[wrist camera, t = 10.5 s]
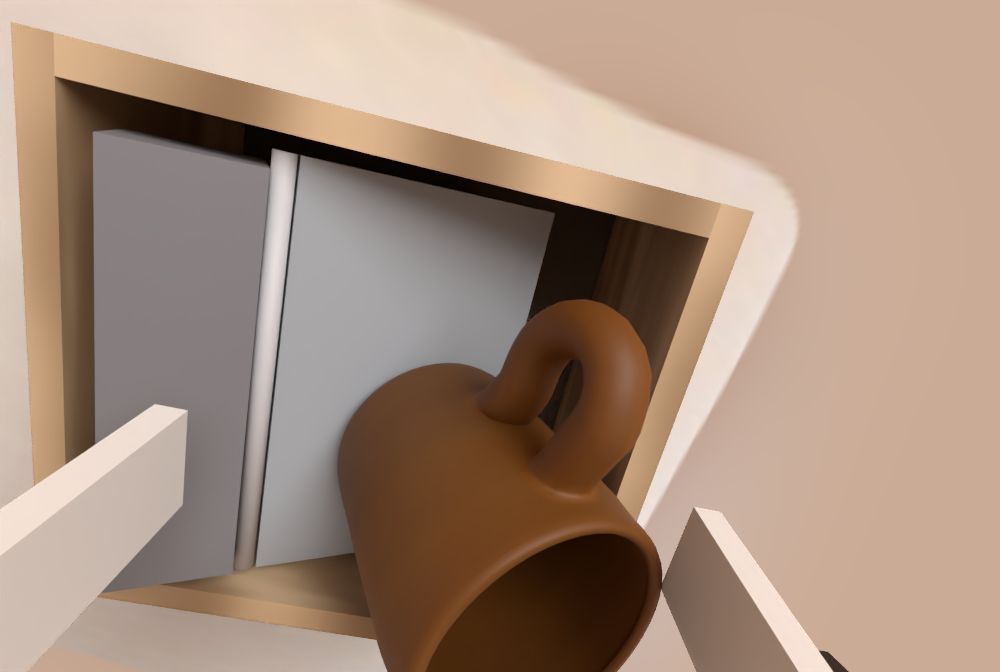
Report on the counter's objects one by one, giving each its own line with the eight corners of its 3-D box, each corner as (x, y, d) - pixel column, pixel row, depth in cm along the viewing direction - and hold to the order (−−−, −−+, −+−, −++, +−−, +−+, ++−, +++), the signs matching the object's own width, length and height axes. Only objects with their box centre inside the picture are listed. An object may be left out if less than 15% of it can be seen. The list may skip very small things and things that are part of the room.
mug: (387, 218, 16) (524, 311, 8) (570, 266, 20) (782, 362, 12) (313, 523, 19) (361, 805, 11) (484, 514, 23) (609, 719, 15)
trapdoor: (120, 525, 19) (96, 606, 16) (124, 111, 15) (92, 109, 11) (446, 493, 26) (475, 545, 22) (516, 201, 21) (564, 216, 18)
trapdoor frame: (202, 439, 27) (39, 588, 17) (224, 92, 22) (10, 21, 12) (547, 503, 29) (580, 670, 19) (642, 198, 24) (753, 211, 14)
